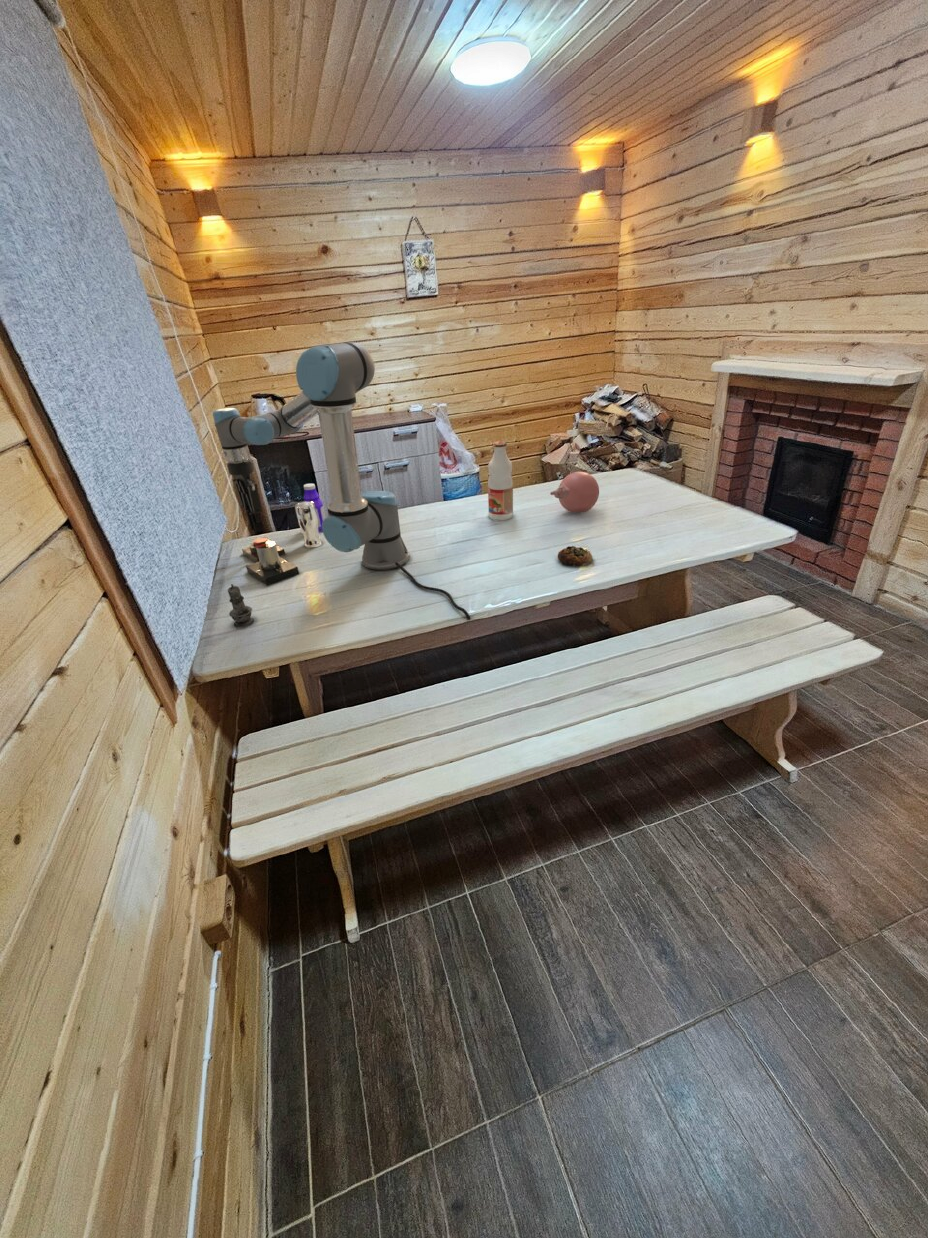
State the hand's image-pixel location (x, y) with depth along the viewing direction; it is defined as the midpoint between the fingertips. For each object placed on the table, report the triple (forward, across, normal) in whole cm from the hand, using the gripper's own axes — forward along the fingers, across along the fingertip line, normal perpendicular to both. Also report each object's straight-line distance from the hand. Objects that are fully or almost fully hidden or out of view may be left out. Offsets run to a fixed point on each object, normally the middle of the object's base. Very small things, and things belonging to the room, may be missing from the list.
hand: (257, 529), depth 177 cm
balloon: (+9, +59, +99) cm, 116 cm away
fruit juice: (+9, +40, +79) cm, 89 cm away
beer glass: (+9, +6, +16) cm, 19 cm away
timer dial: (+7, +17, -5) cm, 19 cm away
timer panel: (+9, +17, -5) cm, 20 cm away
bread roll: (+9, +85, +65) cm, 107 cm away
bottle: (+9, -6, +25) cm, 27 cm away
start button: (+6, 0, 0) cm, 6 cm away
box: (+9, 0, 0) cm, 9 cm away
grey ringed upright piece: (+9, +40, -25) cm, 48 cm away
